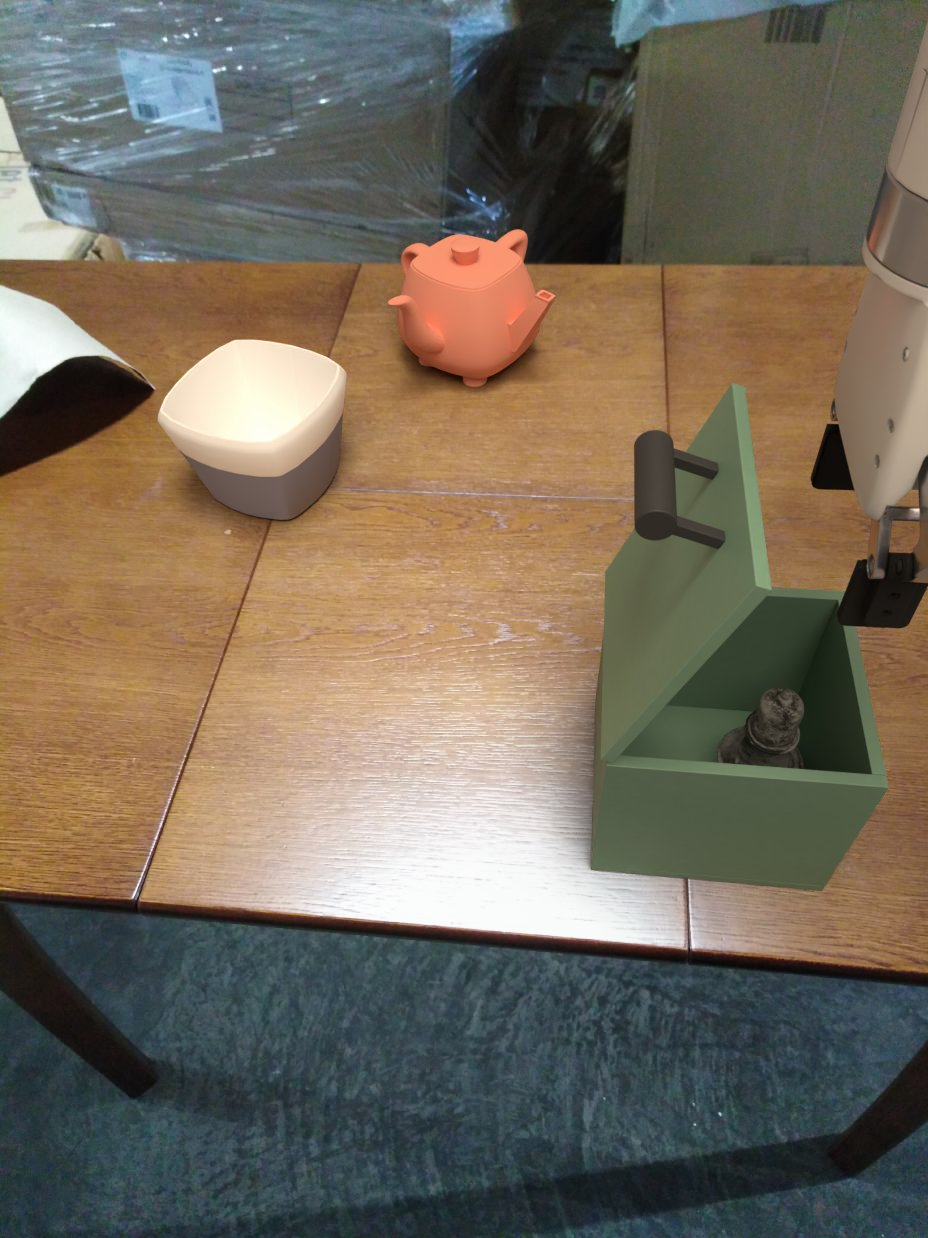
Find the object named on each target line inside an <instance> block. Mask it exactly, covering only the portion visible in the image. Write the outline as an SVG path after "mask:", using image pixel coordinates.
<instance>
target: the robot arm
mask: <svg viewBox="0 0 928 1238" xmlns="http://www.w3.org/2000/svg"><path fill="white" fill-rule="evenodd" d="M926 21H927V22H926V24H925V29H924V32H923V36H922V38H921V42H920V45H919V49H918V53H917V56H916V60H915V63H914V67H913V70H912V73H911V77H910V80H909V84H908V87H907V91H906V94H905V98H904V101H903V104H902V108H901V111H900V115H899V118H898V121H897V125H896V128H895V132H894V135H893V138H892V141H891V145H890V149H889V151H888V155H887V159H886V162H885V166H884V169H883V173H882V175H881V180H880V183H879V186H878V190H877V193H876V197H875V200H874V204H873V207H872V210H871V214H870V217H869V221H868V224H867V228H866V232H865V235H864V239H863V242H862V246H861V256H862V259H863V262H864V265H865V266H866V268H867V269H868V271H869V273H868V276H867V278H866V281H865V284H864V287H863V288H862V289H863V290H862V292H861V295H860V298H859V300H858V303H857V306H856V309H855V312H854V315H853V318H852V321H851V324H850V327H849V331H848V333H847V337H846V339H845V342H844V343H845V344H844V346H843V350H842V353H841V357H840V361H839V366H838V369H837V374H836V377H835V384H834V398H832V401H831V404H830V405H831V406H830V420H831V422H837V423H826V424H825V425H826V426H825V428H824V431H823V432H824V433H823V435H822V438H821V442H820V445H819V447H818V452H817V455H816V458H815V461H814V464H813V468H812V471H811V475H810V483H811V486H812V487H813V488H814V489H816V490H825V491H827V490H828V491H853V492H854V493H855V498H856V500H857V503H858V505H859V507H860V509H861V510H862V511H863V512H864V513H865V515H866V516H868V517H869V518H870V526H869V527H870V528H869V537H868V538H869V539H868V545H867V556H866V558H862V559H857V561H856V563H855V565H854V568H853V570H852V573H851V576H850V578H849V581H848V583H847V586H846V588H845V590H844V591H845V593H844V596H843V598H842V601H841V604H840V606H839V609H838V611H837V617H838V622H839V624H840V625H843V626H856V627H859V628H860V627H861V628H875V629H904V628H906V627H908V626H909V625H910V623H911V621H912V619H913V618H914V616H915V613H916V612H917V609H918V607H919V605H920V603H921V601H922V600H923V597H924V596H925V594H926V591H927V589H928V20H926ZM912 490H913V491H918V506H917V505H915V506H914V505H913V506H912V505H897V504H898V503H900V501H902V499H904V497H906V496H907V495H908V494H909V493H910V492H911V491H912ZM893 522H919V537H918V541H917V543H916V544H915V546H914V547H913V548H912V550H913V551H911V552H892V551H891V552H890V547H891V539H892V530H893V529H892V528H893Z"/></svg>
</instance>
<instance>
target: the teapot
mask: <svg viewBox="0 0 928 1238" xmlns="http://www.w3.org/2000/svg"><path fill="white" fill-rule="evenodd" d="M528 243H529V238H528V234H527V233H526V231H524V230H522V229H519V228H518V229H517V228H516V229H513V230H510V231H508V232H507V233H506V234H504V235H502V236H501V237H500V238H499V239H497V240H496V241H493V240H489V239H487V238H482V237H478V236H474V235H468V234H453V235H449V236H448V237H445V238H443V239H441V240H439V241H437V242H435V243H433V244H432V245H430V246H429V245H427V244H425V243H422V242H415V243H412V244H410V245H408V246H407V247H406V248H405V249H404V250H403V251H402V253H401V257H400V263H401V264H400V265H401V269H402V272H403V275H404V281H403V284H402V288H401V292H400V295H397V296H395V297H392V298H390V299H389V300H388V301H387V305H389V306H392V307H396V308H398V311H397V313H398V314H397V323H398V333H399V335H400V338H401V339H402V341H403V342H404V344H405V345H406V347H407V348H408V349H409V350H410V351H411V352H412V353H413V355H415V356H416V357H417V358H418V363H419V364H420V366H421V365H422V366H424V367H434V368H435V369H438V370H441V371H443V372H446V373H449V374H452V375H456V376H461V377H462V382H463V384H464V385H466V386H467V387H470V388H477V387H482V386H483V385H485V384H486V383H487V382H488V378H489V377H492V376H494V375H495V374H498V373H500V372H501V371H502V370H504V369H505V368H507V367H509V366H510V365H511V364H512V363H514V362H515V361H516V360H518V359H519V358H520V357H521V356H522V355H523V354H524V353H525V352H526V351H527V350H528V349H529V348H530V346H531V345H532V344H533V342H534V341H535V339H536V338H537V335H538V334H539V332H540V329H541V325H542V322H543V320H545V317H546V315H547V314H548V312H549V311H550V308H551V306H552V305H553V303H554V302H555V300H556V297H557V296H556V295H557V294H553V293H552V292H549V291H548V290H545V289H540V290H539V291H538V292H537V291H536V289H535V285H534V283H533V280H532V278H531V275H530V273H529V271H528V269H527V267H526V264H525V263H524V261H525V258H526V254H527V249H528Z"/></svg>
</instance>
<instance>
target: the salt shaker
mask: <svg viewBox="0 0 928 1238" xmlns="http://www.w3.org/2000/svg"><path fill="white" fill-rule="evenodd" d="M803 714H804V704H803V702H802V699H801V698H800V697H799V696H798V695H797V694H796V693H795V692H794V691H792V690H790V689H787V688H783V687H776V688H771V689H769V690H767V691H766V692H765V693H764V694H763V695H762V697H761V698H760V700H759V703H758V706H757V709H756V710H755V711H753V712H752V713H751V714H750V715H749V716H748V717H747V719H746V722H745V726H741V727H738V728H735V729H733V730H731V731H730V732H729V733H727V734H726V735H725V736H724V737H723V739H722V740H721V742H720V743H719V747H718V750H717V762H718V763H729V764H742V765H755V766H768V767H781V768H794V769H804V764H803V759H802V756H801V754H800V751H799V750H798V748H797V747H796V745H797V744H798V742H799V738H800V731H799V728H798V727H799V724H800V722H801V720H802V718H803Z"/></svg>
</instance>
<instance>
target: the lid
mask: <svg viewBox="0 0 928 1238" xmlns="http://www.w3.org/2000/svg"><path fill="white" fill-rule="evenodd" d="M674 445H675V444H674V440H673V438H672V436H671V435H669V433H667V432H665V431H663V430H659V429H651V430H647V431H645V432H642V433H641V434H640V435H638V436H637V437H636V439H635V441H634V443H633V483H634V484H633V500H634V501H633V505H634V507H633V508H634V509H633V510H634V511H633V515H634V516H633V520H634V521H633V522H634V525H633V526H634V528H633V530H632V531H631V533H630V534H629V536H628V537H627V538H626V540H625V541H624V543H623V544H622V545H621V548H620V549H619V551H618V552H617V554H616V555H615V556H614V557H613V559H612V560H611V563H610V564H609V565H608V567H607V568H606V569H605V571H604V599H603V600H604V602H603V603H604V604H603V631H604V639H603V638H602V640H603V681H602V723H601V760H605V761H608V762H614V761H615V760H616V759H617V758H618V757H619V755H620V754H621V753H622V752H623V751H624V750H625V749H626V748H627V747H628V746H629V745H630V744H631V742H632V741H633V740H634V739H635V738H636V737H637V736H638V735H639V734H640V733H641V732H642V731H643V729H644V728H645V727H646V726H647V725H648V724H649V723H650V722H651V721H652V720H653V719H654V718H655V716H656V715H657V714H658V713H659V712H660V711H661V710H662V709H663V708H664V707H665V706H666V705H667V703H668V702H669V701H670V700H671V699H672V698H673V697H674V696H675V695H676V694H677V693H678V692H679V690H680V689H681V688H682V687H683V686H684V685H685V684H686V683H687V682H688V681H689V680H690V679H691V677H692V676H693V675H694V674H695V673H696V672H697V671H698V670H699V669H700V668H701V667H702V666H703V664H704V663H705V662H706V661H707V660H708V659H709V658H710V657H711V656H712V655H713V654H714V653H715V651H716V650H717V649H718V648H719V647H720V646H721V645H722V644H723V643H724V642H725V641H726V640H727V638H728V637H729V636H730V635H731V634H732V633H733V632H734V631H735V630H736V629H737V628H738V627H739V625H740V624H741V623H742V622H743V621H744V620H745V619H746V618H747V617H748V616H749V615H750V614H751V612H752V611H753V610H754V609H755V608H756V607H757V606H758V605H759V604H760V603H761V602H762V601H763V599H764V598H765V597H766V596H767V595H768V594H769V593H770V592H771V591H772V587H773V586H772V585H773V584H772V578H771V571H770V563H769V557H768V549H767V540H766V533H765V527H764V519H763V512H762V505H761V496H760V489H759V482H758V475H757V467H756V460H755V452H754V444H753V437H752V430H751V422H750V415H749V408H748V399H747V392H746V387H745V386H744V385H741V384H737V383H735V382H732V383H730V384H729V386H728V388H727V389H726V390H725V392H724V394H723V395H722V397H721V398H720V400H719V401H718V403H717V404H716V406H715V407H714V408H713V410H712V412H711V413H710V414H709V416H708V417H707V419H706V420H705V422H704V424H703V426H702V427H701V428H700V429H699V431H698V432H697V433H696V436H695V437H694V439H693V440H692V442H691V443H690V444H689V446H688V448H687V449H686V450H685V451H683V450H681V449H678V448H675V446H674Z"/></svg>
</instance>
